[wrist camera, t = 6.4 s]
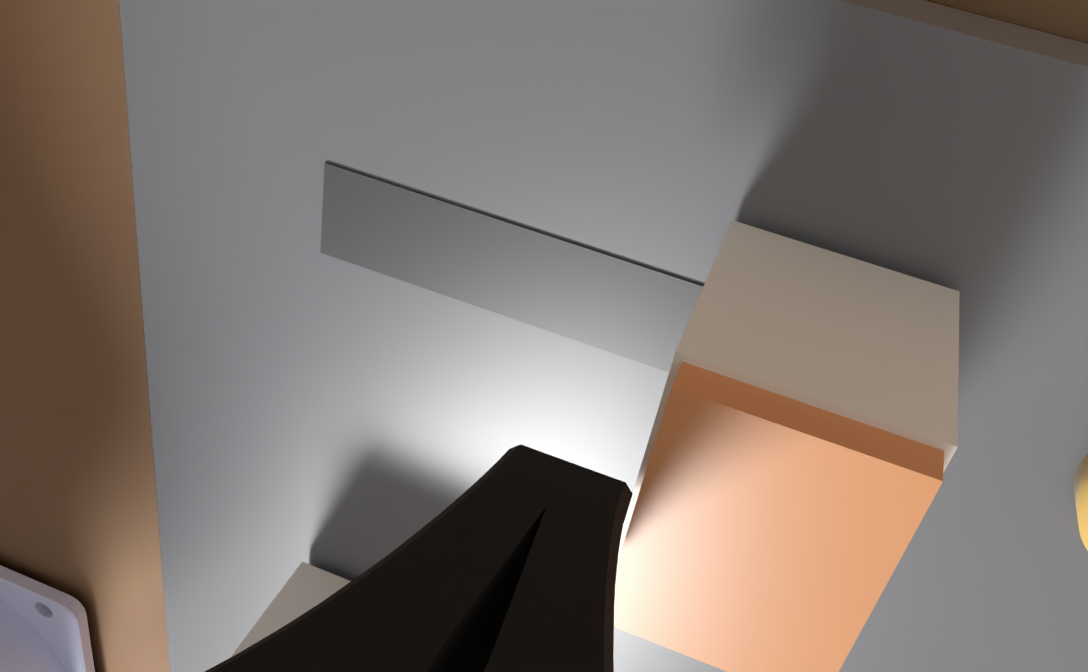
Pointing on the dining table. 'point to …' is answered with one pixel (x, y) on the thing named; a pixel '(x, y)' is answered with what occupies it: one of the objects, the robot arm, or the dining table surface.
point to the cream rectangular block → (294, 601)
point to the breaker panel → (588, 273)
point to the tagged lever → (788, 456)
